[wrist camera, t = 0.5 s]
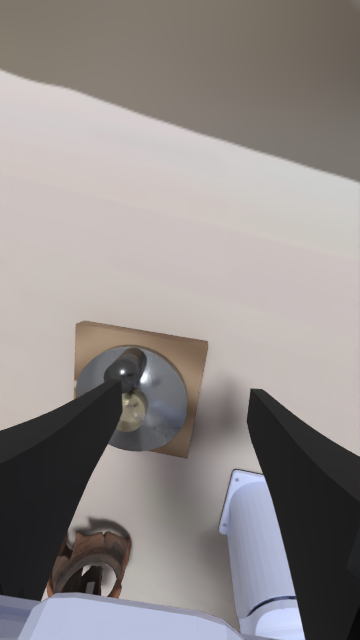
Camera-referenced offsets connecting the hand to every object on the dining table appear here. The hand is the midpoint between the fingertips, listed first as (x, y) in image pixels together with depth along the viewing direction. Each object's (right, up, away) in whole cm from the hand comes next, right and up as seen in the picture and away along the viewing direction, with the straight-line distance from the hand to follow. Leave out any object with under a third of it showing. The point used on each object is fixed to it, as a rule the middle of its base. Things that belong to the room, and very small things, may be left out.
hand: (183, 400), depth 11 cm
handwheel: (-5, -3, +9) cm, 11 cm away
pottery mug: (-12, -26, +17) cm, 33 cm away
